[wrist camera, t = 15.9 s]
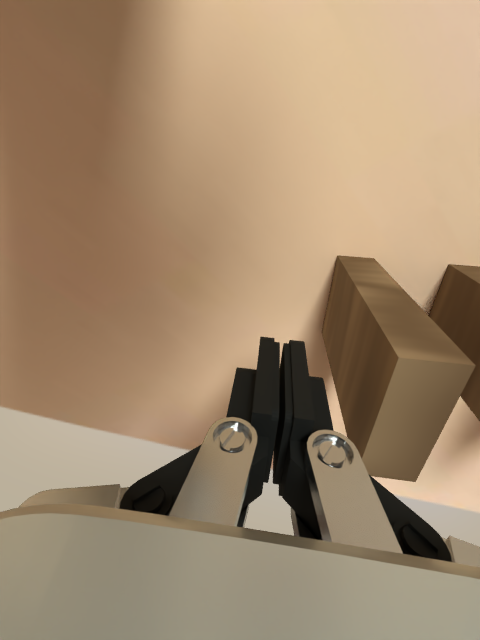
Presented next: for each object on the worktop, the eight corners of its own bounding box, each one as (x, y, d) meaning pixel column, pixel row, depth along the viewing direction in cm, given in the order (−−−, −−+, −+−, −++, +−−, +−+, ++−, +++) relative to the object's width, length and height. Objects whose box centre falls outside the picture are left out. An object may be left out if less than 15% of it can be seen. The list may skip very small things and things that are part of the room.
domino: (321, 331, 19) (356, 474, 11) (337, 255, 17) (398, 357, 8) (353, 335, 19) (415, 481, 10) (373, 258, 17) (475, 365, 8)
